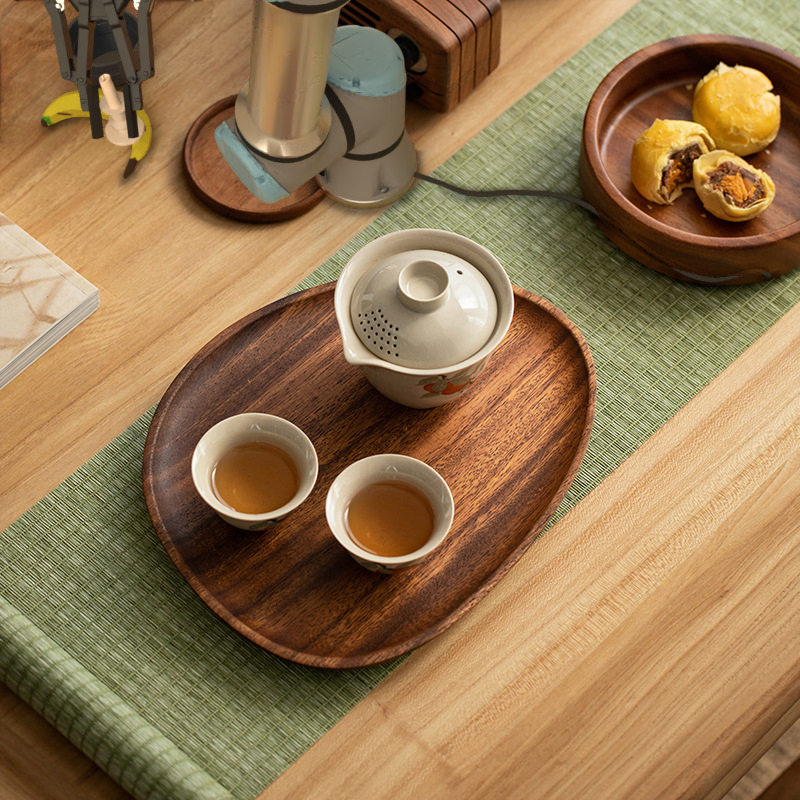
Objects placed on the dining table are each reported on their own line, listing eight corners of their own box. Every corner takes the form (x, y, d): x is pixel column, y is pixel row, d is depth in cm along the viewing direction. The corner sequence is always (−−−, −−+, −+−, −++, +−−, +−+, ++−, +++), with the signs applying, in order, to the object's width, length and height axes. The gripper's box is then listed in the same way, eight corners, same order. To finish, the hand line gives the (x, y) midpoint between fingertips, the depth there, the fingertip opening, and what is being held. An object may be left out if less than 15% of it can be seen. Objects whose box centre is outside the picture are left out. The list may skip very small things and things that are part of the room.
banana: (39, 81, 138) (25, 170, 134) (151, 79, 137) (141, 169, 133) (52, 99, 143) (39, 186, 139) (161, 97, 141) (151, 185, 137)
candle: (101, 144, 123) (77, 88, 114) (111, 113, 126) (88, 56, 116) (139, 148, 123) (118, 92, 114) (149, 117, 125) (128, 60, 116)
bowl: (163, 42, 147) (156, 17, 143) (130, 98, 142) (121, 74, 138) (94, 24, 149) (85, -2, 144) (59, 78, 144) (48, 54, 139)
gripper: (168, -60, 115) (186, 134, 124) (32, -58, 115) (60, 136, 123) (155, -68, 108) (175, 139, 117) (9, -65, 108) (40, 141, 116)
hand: (116, 137), depth 120 cm, fingers closed on candle, 4 cm apart
